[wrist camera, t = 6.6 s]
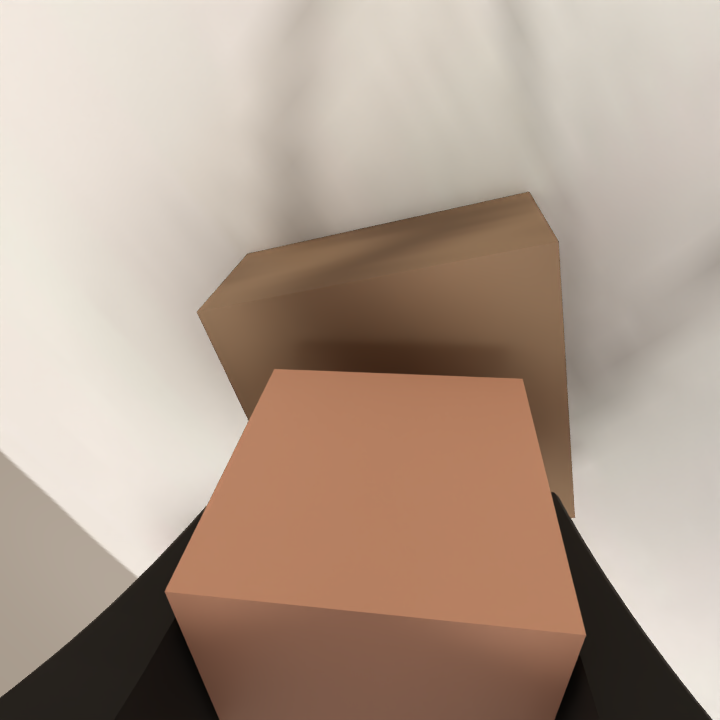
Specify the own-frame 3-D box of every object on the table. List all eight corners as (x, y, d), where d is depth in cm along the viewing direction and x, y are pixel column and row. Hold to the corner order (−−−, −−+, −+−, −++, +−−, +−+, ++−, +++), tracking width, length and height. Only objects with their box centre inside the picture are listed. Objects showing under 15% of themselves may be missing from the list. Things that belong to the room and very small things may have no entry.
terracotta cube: (522, 378, 10) (586, 634, 6) (495, 543, 12) (525, 799, 8) (273, 369, 10) (165, 591, 6) (299, 527, 13) (235, 756, 9)
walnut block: (527, 188, 13) (558, 241, 10) (547, 423, 17) (574, 517, 14) (250, 250, 15) (196, 311, 12) (326, 447, 19) (303, 535, 16)
